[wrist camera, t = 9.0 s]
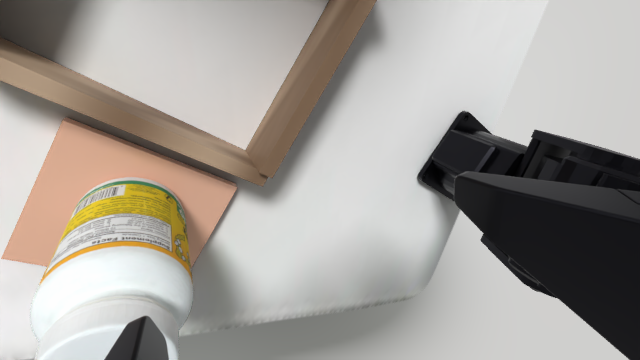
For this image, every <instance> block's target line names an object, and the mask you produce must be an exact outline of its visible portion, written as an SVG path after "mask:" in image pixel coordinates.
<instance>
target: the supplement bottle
mask: <svg viewBox="0 0 640 360" xmlns="http://www.w3.org/2000/svg"><path fill="white" fill-rule="evenodd" d="M192 303H193V282H192V272H191V263H190V255H189V245H188V236H187V227H186V218H185V213H184V210H183V207H182V205H181V203H180V201H179V199H178V198H177V196H176V195H175V194H174V193H173V192H172V191H171V190H170V189H169V188H167V187H166V186H164V185H162V184H160V183H158V182H155V181H153V180H149V179H144V178H138V177H124V178H117V179H113V180H109V181H106V182H104V183H101V184H99V185H97V186H96V187H94V188H92V189H91V190H90V191H88V192H87V193H86V194H85V195H84V196H83V197H82V198H81V199H80V201H79V202H78V204H77V205H76V207H75V209H74V211H73V213H72V216H71V218H70V220H69V222H68V224H67V226H66V228H65V231H64V233H63V235H62V237H61V239H60V242H59V244H58V246H57V248H56V250H55V252H54V254H53V256H52V259H51V261H50V263H49V265H48V267H47V269H46V271H45V273H44V275H43V277H42V279H41V282H40V284H39V286H38V288H37V291H36V293H35V295H34V298H33V300H32V303H31V309H30V323H31V328H32V331H33V333H34V335H35V337H36V339H37V340H38V342H39V345H38V348H37V353H36V356H35V360H104V359H105V357H106V356H107V354H108V353H109V351H110V350H111V348H112V347H113V345H114V343H115V342H116V340H117V339H118V337H119V336H120V334H121V333H122V331H123V330H124V328H125V326H126V325H127V324H128V323H129V322H131V321H133V320H135V319H137V318H140V317H142V316H149V317H150V318H151V319H152V320H153V322H154V323H155V324H156V326H157V327H158V328H159V330H160V331H161V332H162V334H163V335H164V337H165V339H166V343H167V349H168V356H169V360H178V359H179V330H180V328H181V327H182V326H183V324H184V323H185V321H186V319H187V317H188V315H189V313H190V310H191V307H192Z"/></svg>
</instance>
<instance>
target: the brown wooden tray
mask: <svg viewBox="0 0 640 360" xmlns="http://www.w3.org/2000/svg"><path fill="white" fill-rule="evenodd" d="M376 1H377V0H330V1H329V2H328V4H327V6H326V8H325V9H324V11H323V13H322V15H321V17H320V18H319V20H318V22H317V24H316V26H315V27H314V29H313V31H312V33H311V34H310V36H309V38H308V40H307V42H306V43H305V45H304V47H303V49H302V50H301V52H300V54H299V56H298V58H297V59H296V61H295V63H294V65H293V66H292V68H291V70H290V72H289V74H288V75H287V77H286V79H285V81H284V83H283V84H282V86H281V88H280V90H279V91H278V93H277V95H276V97H275V99H274V100H273V102H272V104H271V106H270V107H269V109H268V111H267V113H266V115H265V116H264V118H263V120H262V122H261V123H260V125H259V127H258V129H257V131H256V132H255V134H254V136H253V138H252V140H251V141H250V143H249V145H248V147H247V148H246V150H243V149H241V148H239V147H237V146H234V145H232V144H230V143H228V142H226V141H224V140H221V139H219V138H217V137H215V136H213V135H211V134H208V133H206V132H204V131H202V130H200V129H198V128H196V127H193V126H191V125H189V124H187V123H185V122H183V121H180V120H178V119H176V118H174V117H172V116H170V115H167V114H165V113H163V112H161V111H159V110H157V109H155V108H152V107H150V106H148V105H146V104H144V103H142V102H139V101H137V100H135V99H133V98H131V97H129V96H126V95H124V94H122V93H120V92H118V91H116V90H113V89H111V88H109V87H107V86H105V85H103V84H101V83H98V82H96V81H94V80H92V79H90V78H88V77H85V76H83V75H81V74H79V73H77V72H75V71H72V70H70V69H68V68H66V67H64V66H62V65H60V64H57V63H55V62H53V61H51V60H49V59H47V58H44V57H42V56H40V55H38V54H36V53H34V52H31V51H29V50H27V49H25V48H23V47H21V46H18V45H16V44H14V43H12V42H10V41H8V40H6V39H3V38H1V37H0V81H3V82H5V83H8V84H10V85H13V86H15V87H18V88H20V89H23V90H25V91H28V92H30V93H32V94H35V95H37V96H40V97H42V98H45V99H47V100H50V101H52V102H55V103H57V104H60V105H62V106H65V107H67V108H69V109H72V110H74V111H77V112H79V113H82V114H84V115H87V116H89V117H92V118H94V119H97V120H99V121H102V122H104V123H106V124H109V125H111V126H114V127H116V128H119V129H121V130H124V131H126V132H129V133H131V134H134V135H136V136H139V137H141V138H143V139H146V140H148V141H151V142H153V143H156V144H158V145H161V146H163V147H166V148H168V149H171V150H173V151H176V152H178V153H180V154H183V155H185V156H188V157H190V158H193V159H195V160H198V161H200V162H203V163H205V164H208V165H210V166H213V167H215V168H217V169H220V170H222V171H225V172H227V173H230V174H232V175H235V176H237V177H240V178H242V179H245V180H247V181H249V182H252V183H254V184H257V185H259V186H262V187H263V185H264V183H265V182H266V180H267V178H268V177H270V178H273V176H274V174H275V173H276V171H277V169H278V168H279V166H280V164H281V162H282V161H283V159H284V157H285V156H286V154H287V152H288V151H289V149H290V147H291V145H292V144H293V142H294V140H295V139H296V137H297V135H298V134H299V132H300V130H301V128H302V127H303V125H304V123H305V122H306V120H307V118H308V117H309V115H310V113H311V111H312V110H313V108H314V106H315V105H316V103H317V101H318V100H319V98H320V96H321V94H322V93H323V91H324V89H325V88H326V86H327V84H328V82H329V81H330V79H331V77H332V76H333V74H334V72H335V71H336V69H337V67H338V65H339V64H340V62H341V60H342V59H343V57H344V55H345V54H346V52H347V50H348V48H349V47H350V45H351V43H352V42H353V40H354V38H355V37H356V35H357V33H358V31H359V30H360V28H361V26H362V25H363V23H364V21H365V20H366V18H367V16H368V14H369V13H370V11H371V9H372V8H373V6H374V4H375V2H376Z"/></svg>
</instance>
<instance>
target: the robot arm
mask: <svg viewBox="0 0 640 360" xmlns="http://www.w3.org/2000/svg"><path fill="white" fill-rule="evenodd" d="M531 137H532V140H531V142H530V144H529V146H528V147H527V146H524V145H521V144H518V143H515V142H512V141H510V140H507V139H503V138H501V137H498V136H495V135H492V134H491V133H490V132H489V131H488V130H487V129H486V128H485V127H484V126H483V125H482V124H481V123H480V122H479V121H478V120H477V119H476V118H475V117H474V116H473V115H472V114H470V113H469V112H466V111H462V112H461V113H460V114H459V115H458V116H457V118H456V119H455V121H454V122H453V124H452V125H451V127H450V128H449V130H448V131H447V133H446V134H445V136H444V137H443V139H442V140H441V142H440V143H439V145H438V146H437V148H436V149H435V150H434V152H433V153H432V155H431V156H430V158H429V159H428V161H427V162H426V164H425V165H424V167H423V168H422V170H421V171H420V173H419V175H418V178H419V179H420V180H421V181H423V182H424V183H426V184H427V185H429V186H431V187H432V188H434V189H436V190H437V191H439V192H440V193H442V194H444V195H445V196H447V197H448V198H450V199H452V200H453V201H455V203H456V205H457V206H458V207H459V208H460V209H461V210H462V211H463V212H464V214H465V215H466V216H467V217H468V218H469V219H470V220H471V221H472V222H473V223H474V224H475V225H476V226H477V227H478V228H479V229H480V230H481V231H482V232H483V233H484V234H483V236H482V238H481V242H482V243H483V244H484V245H486V246H487V247H488V249H489V250H490V251H491V252H492V253H493V254H494V255H495V256H496V257H497V258H498V259H499V260H500V261H501V262H502V263H503V264H504V265H505V266H506V267H507V268H508V269H509V270H510V271H511V272H512V273H513V274H514V275H515V276H516V277H518V278H519V279H520V280H521V281H522V282H523V283H524V284H526V285H527V286H529V287H530V288H531V289H533V290H535V291H537V292H542V293H544V294H547V295H549V296H552V297H555V298H558V299H560V300H561V301H562V302H563V303H564V304H565V305H566V306H568V307H569V308H570V309H571V310H572V311H573V312H575V313H576V314H577V315H578V316H579V317H580V318H582V319H583V320H584V321H585V322H586V323H587V324H589V325H590V326H591V327H592V328H593V329H594V330H596V331H597V332H598V333H599V334H600V335H601V336H603V337H604V338H605V339H606V340H607V341H608V342H610V343H611V344H612V345H613V346H614V347H615V348H617V349H618V350H619V351H620V352H621V353H622V354H624V355H625V356H626V357H627V358H628V359H629V360H640V159H638V158H634V157H631V156H628V155H625V154H621V153H618V152H615V151H612V150H609V149H605V148H602V147H598V146H595V145H591V144H588V143H583V142H581V141H577V140H574V139H570V138H566V137H562V136H558V135H554V134H550V133H546V132H542V131H538V130H534V132H533V134H532V136H531ZM104 360H169V356H168V349H167V343H166V339H165V337H164V335H163V334H162V332H161V331H160V330H159V328H158V327H157V326H156V324H155V323H154V322H153V320H152V319H151V318H150V317H149V316H142V317H140V318H137V319H135V320H133V321H131V322H129V323H128V324H127V325H126V326H125V328H124V330H123V331H122V333H121V334H120V336H119V337H118V339H117V340H116V342H115V343H114V345H113V347H112V348H111V350H110V351H109V353H108V354H107V356H106V357H105V359H104Z"/></svg>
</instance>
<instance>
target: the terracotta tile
mask: <svg viewBox="0 0 640 360" xmlns="http://www.w3.org/2000/svg"><path fill="white" fill-rule="evenodd" d="M124 177H138V178H144V179H149V180H153V181H155V182H158V183H160V184H162V185H164V186H166V187H167V188H169V189H170V190H171V191H172V192H173V193H174V194H175V195H176V196H177V198H178V199H179V201H180V203H181V205H182V207H183V210H184V213H185V218H186V227H187V236H188V245H189V255H190V263H191V268H192V266H193V265H194V263H195V261H196V259H197V258H198V256H199V254H200V252H201V251H202V249H203V247H204V245H205V244H206V242H207V240H208V238H209V237H210V235H211V233H212V231H213V230H214V228H215V226H216V224H217V223H218V221H219V219H220V217H221V215H222V214H223V212H224V210H225V208H226V207H227V205H228V203H229V201H230V200H231V198H232V196H233V194H234V193H235V191H236V189H237V185H236V183H233V182H231V181H228V180H226V179H223V178H220V177H218V176H215V175H213V174H210V173H208V172H205V171H203V170H200V169H197V168H195V167H192V166H190V165H187V164H185V163H182V162H180V161H177V160H174V159H172V158H169V157H167V156H164V155H162V154H159V153H157V152H154V151H151V150H149V149H146V148H144V147H141V146H139V145H136V144H133V143H131V142H128V141H126V140H123V139H121V138H118V137H116V136H113V135H110V134H108V133H105V132H103V131H100V130H98V129H95V128H93V127H90V126H87V125H85V124H82V123H80V122H77V121H75V120H72V119H70V118H67V117H65V118H64V119H63V120H62V123H61V125H60V127H59V129H58V132H57V134H56V136H55V138H54V141H53V143H52V145H51V147H50V150H49V152H48V154H47V156H46V159H45V161H44V163H43V165H42V168H41V170H40V172H39V174H38V177H37V179H36V181H35V184H34V186H33V188H32V190H31V193H30V195H29V197H28V199H27V202H26V204H25V206H24V208H23V211H22V213H21V215H20V217H19V220H18V222H17V224H16V226H15V229H14V231H13V233H12V235H11V238H10V240H9V242H8V245H7V247H6V249H5V251H4V254H3V256H2V258H1V259H6V260H12V261H18V262H24V263H30V264H36V265H42V266H48V265H49V263H50V261H51V259H52V256H53V254H54V252H55V250H56V248H57V246H58V244H59V242H60V239H61V237H62V235H63V233H64V231H65V228H66V226H67V224H68V222H69V220H70V218H71V216H72V213H73V211H74V209H75V207H76V205H77V204H78V202H79V201H80V199H81V198H82V197H83V196H84V195H85V194H86V193H87V192H88V191H90V190H91V189H92V188H94V187H96V186H97V185H99V184H101V183H104V182H106V181H109V180H113V179H117V178H124Z"/></svg>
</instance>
